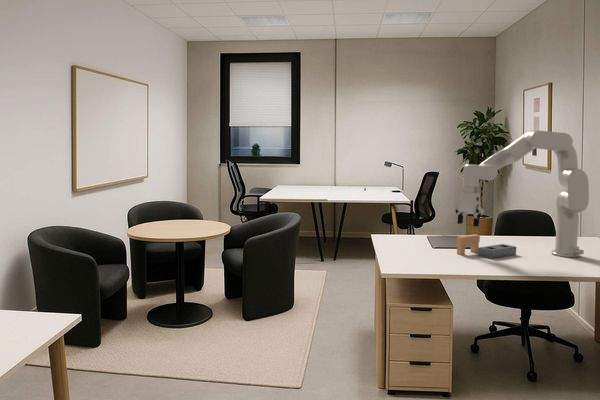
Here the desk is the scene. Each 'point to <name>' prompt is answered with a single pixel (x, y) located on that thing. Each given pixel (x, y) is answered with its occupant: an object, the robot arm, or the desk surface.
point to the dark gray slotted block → (496, 251)
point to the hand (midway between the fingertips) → (467, 224)
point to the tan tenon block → (467, 239)
